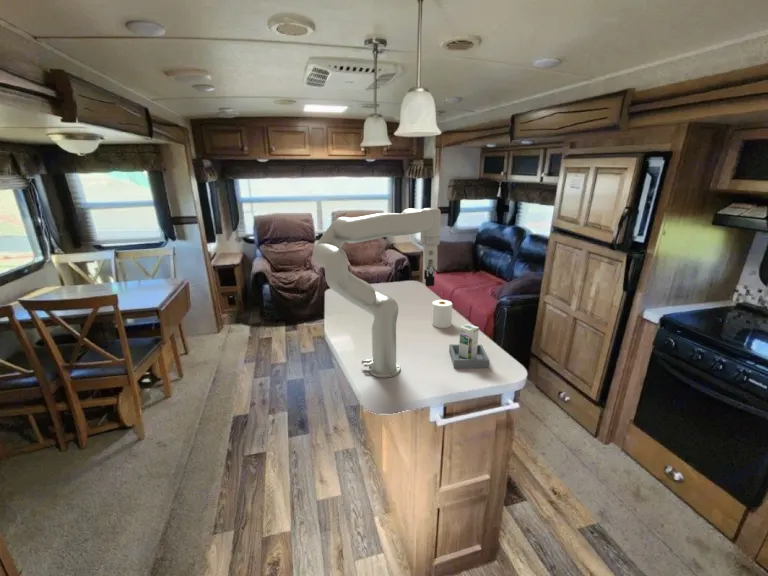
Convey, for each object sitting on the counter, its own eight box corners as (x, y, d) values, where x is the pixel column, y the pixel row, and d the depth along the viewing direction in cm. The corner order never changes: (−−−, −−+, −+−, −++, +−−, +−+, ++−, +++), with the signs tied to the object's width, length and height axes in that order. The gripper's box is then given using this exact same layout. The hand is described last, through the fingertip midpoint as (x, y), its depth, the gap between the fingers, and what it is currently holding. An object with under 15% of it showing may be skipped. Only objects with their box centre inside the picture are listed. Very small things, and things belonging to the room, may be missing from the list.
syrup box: (457, 358, 148) (459, 326, 143) (465, 353, 152) (467, 322, 147) (469, 363, 144) (471, 330, 139) (477, 358, 148) (479, 326, 143)
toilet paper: (441, 319, 191) (441, 298, 188) (455, 324, 183) (456, 303, 180) (427, 323, 185) (428, 302, 182) (441, 329, 177) (442, 307, 174)
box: (453, 368, 141) (454, 360, 140) (449, 351, 155) (449, 344, 154) (488, 368, 141) (489, 360, 140) (481, 352, 154) (481, 344, 153)
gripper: (442, 244, 128) (440, 288, 133) (437, 236, 145) (436, 276, 150) (421, 244, 128) (420, 288, 133) (419, 236, 145) (418, 276, 150)
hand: (429, 282), depth 142 cm, fingers open, 9 cm apart
